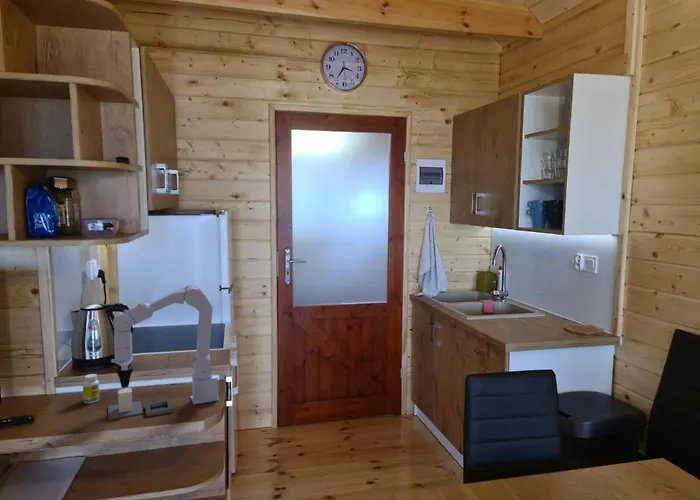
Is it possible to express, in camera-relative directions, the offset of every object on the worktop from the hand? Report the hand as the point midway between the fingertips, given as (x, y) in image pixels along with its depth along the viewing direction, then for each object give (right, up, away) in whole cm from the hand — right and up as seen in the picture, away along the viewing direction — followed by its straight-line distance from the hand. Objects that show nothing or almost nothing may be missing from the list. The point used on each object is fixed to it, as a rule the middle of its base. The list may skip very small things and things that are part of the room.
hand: (124, 383), depth 177 cm
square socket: (+11, -10, +3) cm, 16 cm away
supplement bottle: (-17, -9, +9) cm, 21 cm away
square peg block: (0, -10, +1) cm, 10 cm away
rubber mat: (0, -10, +1) cm, 10 cm away
